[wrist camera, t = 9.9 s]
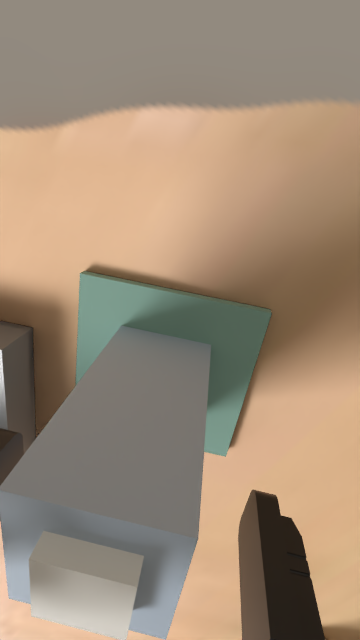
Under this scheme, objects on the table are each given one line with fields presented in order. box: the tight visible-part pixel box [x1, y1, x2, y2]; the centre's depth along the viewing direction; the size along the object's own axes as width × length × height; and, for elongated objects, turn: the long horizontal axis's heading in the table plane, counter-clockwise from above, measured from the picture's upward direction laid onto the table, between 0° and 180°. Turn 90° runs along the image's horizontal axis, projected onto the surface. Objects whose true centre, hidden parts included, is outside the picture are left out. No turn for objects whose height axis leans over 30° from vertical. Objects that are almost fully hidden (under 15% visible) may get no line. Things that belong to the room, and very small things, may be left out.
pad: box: [76, 271, 272, 457], centre depth 16 cm, size 9×9×1 cm
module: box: [0, 326, 211, 640], centre depth 11 cm, size 4×4×10 cm
